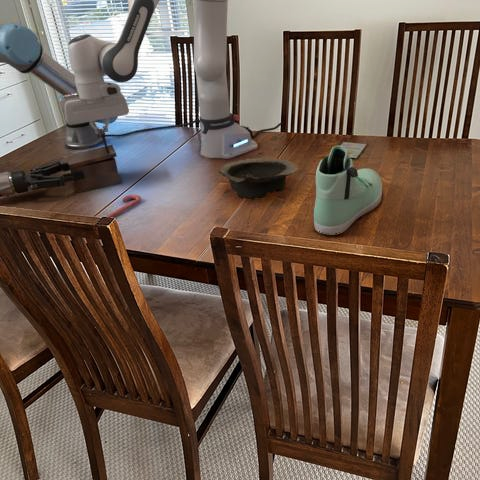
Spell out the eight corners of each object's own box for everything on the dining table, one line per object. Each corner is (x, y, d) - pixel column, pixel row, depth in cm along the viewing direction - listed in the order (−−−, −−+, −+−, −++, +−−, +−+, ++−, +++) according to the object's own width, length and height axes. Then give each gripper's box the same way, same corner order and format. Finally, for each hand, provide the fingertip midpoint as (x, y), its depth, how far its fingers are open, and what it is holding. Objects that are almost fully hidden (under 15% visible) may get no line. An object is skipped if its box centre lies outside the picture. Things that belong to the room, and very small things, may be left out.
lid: (113, 147, 169) (106, 125, 164) (116, 156, 161) (110, 133, 157) (68, 158, 165) (60, 136, 161) (69, 168, 157) (61, 145, 153)
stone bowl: (243, 213, 140) (240, 183, 136) (209, 189, 160) (205, 162, 156) (313, 190, 149) (312, 161, 144) (272, 170, 169) (270, 144, 165)
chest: (116, 173, 173) (111, 150, 169) (120, 183, 166) (115, 159, 161) (74, 182, 169) (68, 159, 165) (76, 192, 162) (69, 168, 157)
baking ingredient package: (332, 154, 173) (343, 141, 184) (332, 155, 173) (343, 142, 184) (356, 157, 169) (366, 143, 180) (356, 158, 169) (366, 144, 181)
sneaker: (389, 187, 148) (396, 123, 138) (356, 242, 123) (361, 168, 112) (346, 181, 154) (350, 119, 144) (306, 232, 129) (307, 161, 118)
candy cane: (96, 216, 146) (95, 211, 145) (131, 196, 156) (131, 192, 155) (109, 220, 143) (108, 216, 142) (145, 200, 153) (144, 196, 152)
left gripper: (17, 180, 168) (82, 168, 174) (15, 206, 150) (88, 191, 156) (10, 160, 165) (77, 148, 171) (8, 184, 147) (82, 170, 153)
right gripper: (58, 98, 147) (70, 141, 155) (124, 87, 153) (133, 129, 160) (57, 93, 153) (69, 135, 160) (121, 83, 158) (130, 124, 165)
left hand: (82, 169), depth 164 cm, fingers closed on chest, 9 cm apart
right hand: (102, 132), depth 160 cm, fingers closed on lid
